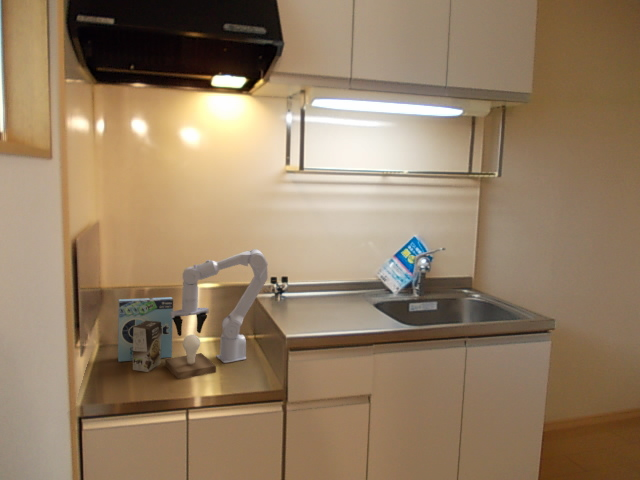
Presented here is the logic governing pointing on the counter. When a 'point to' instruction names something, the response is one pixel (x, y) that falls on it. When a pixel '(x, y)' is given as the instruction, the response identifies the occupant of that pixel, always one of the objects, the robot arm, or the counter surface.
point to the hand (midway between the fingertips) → (189, 333)
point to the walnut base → (190, 366)
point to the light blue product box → (137, 313)
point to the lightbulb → (191, 347)
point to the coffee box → (146, 346)
